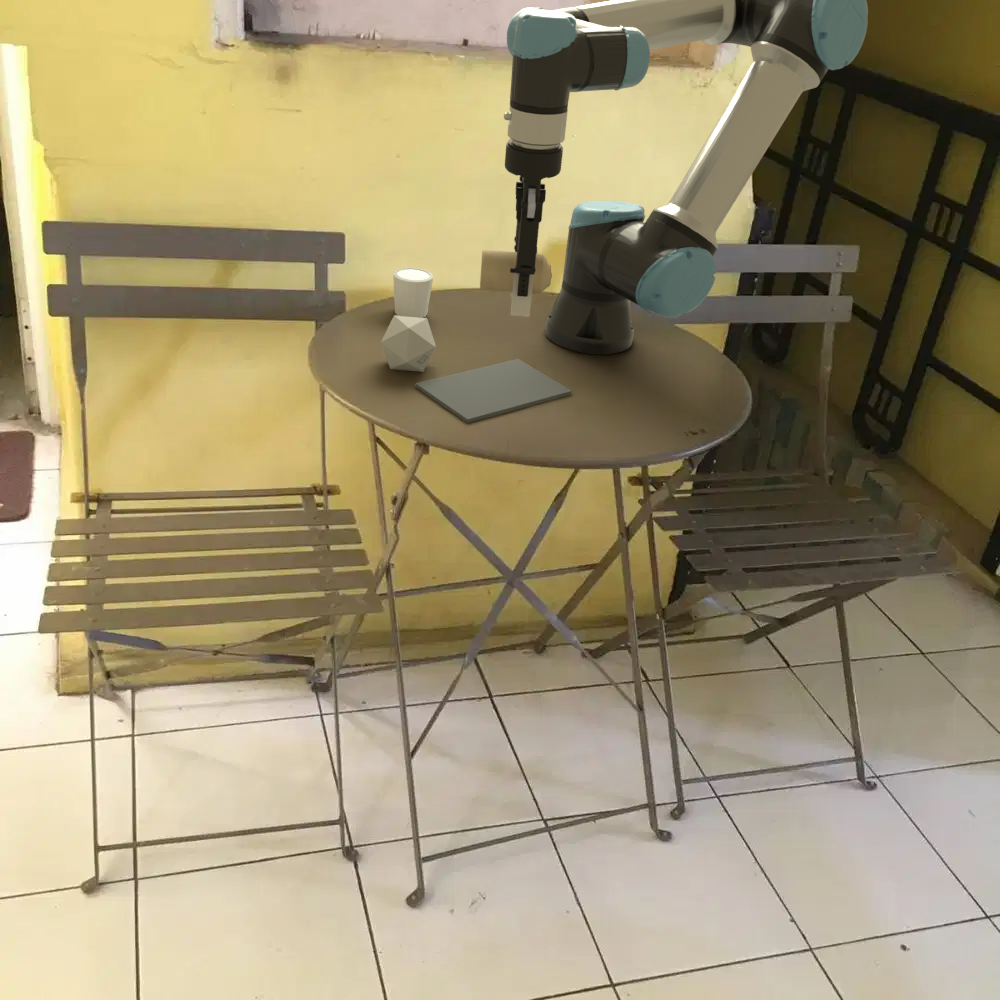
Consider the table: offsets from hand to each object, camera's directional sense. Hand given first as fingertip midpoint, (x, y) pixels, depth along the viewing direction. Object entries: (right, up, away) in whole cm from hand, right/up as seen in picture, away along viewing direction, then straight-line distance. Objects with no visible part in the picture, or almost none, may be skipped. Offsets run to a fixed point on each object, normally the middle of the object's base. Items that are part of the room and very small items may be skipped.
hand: (519, 305), depth 147 cm
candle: (-6, +5, -3) cm, 8 cm away
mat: (-4, -11, +8) cm, 14 cm away
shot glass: (-18, +4, +31) cm, 36 cm away
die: (-17, -7, +12) cm, 22 cm away
